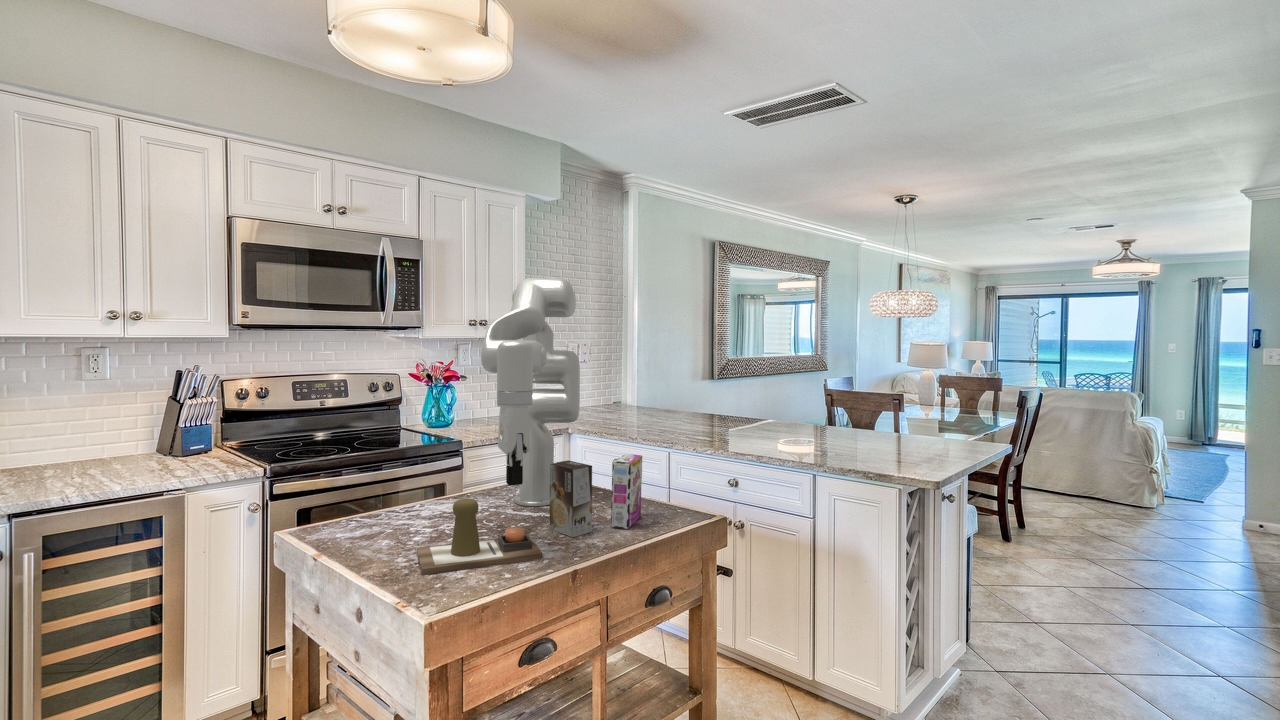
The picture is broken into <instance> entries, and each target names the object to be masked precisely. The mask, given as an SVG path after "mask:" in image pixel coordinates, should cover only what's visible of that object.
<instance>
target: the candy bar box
mask: <svg viewBox="0 0 1280 720" xmlns="http://www.w3.org/2000/svg"><path fill="white" fill-rule="evenodd" d="M611 466H612V467H611V469H612V470H611V474H612V475H611V500H610V501H611V509H610V528H612V529H619V528H620V529H621V530H629V529H630V528H632V526H633V525H634V524H635V523H637V521H638V520H639V519H640V518H641V516H642V512H641V511H642V480H643V477H642V476H643V455H640V454H631V453H629V454H627V453H626V454H624V455H622V456H620V457H618V458H617V459H615V460H613V461H612V465H611Z"/></svg>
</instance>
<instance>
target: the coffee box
mask: <svg viewBox="0 0 1280 720" xmlns="http://www.w3.org/2000/svg"><path fill="white" fill-rule="evenodd" d="M549 530H550V531H554V532H557V533H559V534H561V535H562V534H563V535H566V536H569V537H571V538H576V537H579V536H583V535H586V534H590V533H592V531H593V465H590V464H586V463H581V462H577V461H572V460H563V461H557V462H554V463H553V464H550V505H549ZM589 532H590V533H589Z"/></svg>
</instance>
